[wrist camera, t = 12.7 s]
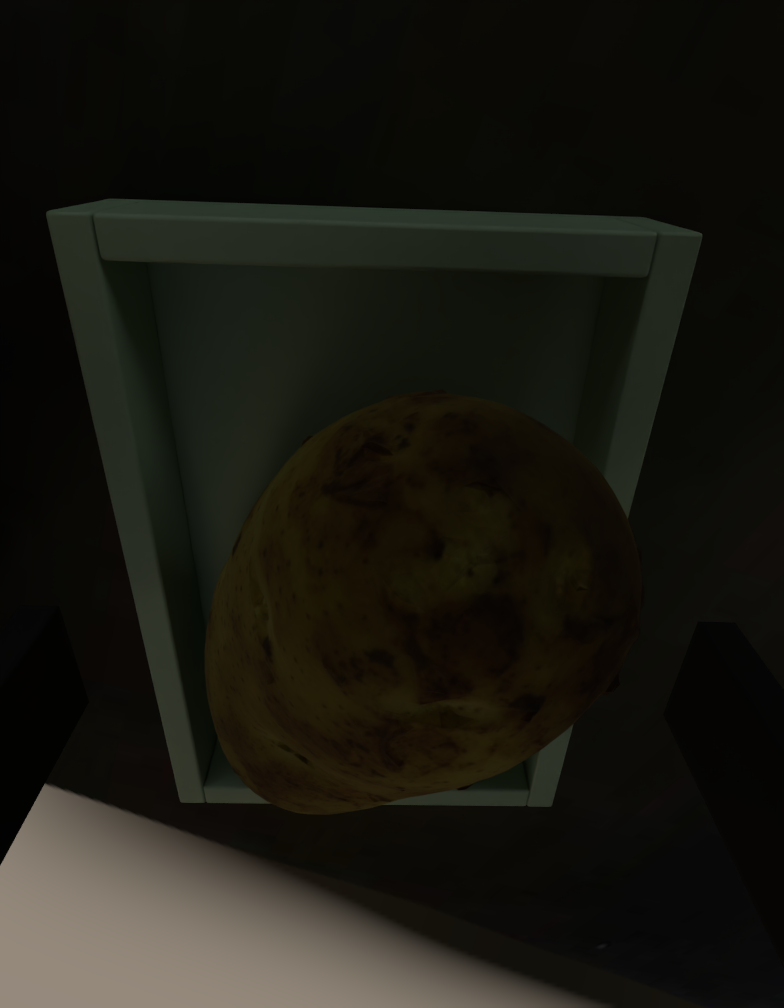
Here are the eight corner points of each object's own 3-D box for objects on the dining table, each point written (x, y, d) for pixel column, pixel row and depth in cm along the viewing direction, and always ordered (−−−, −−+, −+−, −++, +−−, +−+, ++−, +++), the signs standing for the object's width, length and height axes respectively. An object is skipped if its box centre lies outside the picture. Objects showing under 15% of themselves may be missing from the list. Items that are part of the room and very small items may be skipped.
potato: (108, 592, 18) (-68, 875, 11) (433, 258, 13) (484, 380, 6) (322, 728, 21) (290, 1017, 14) (645, 494, 16) (836, 750, 9)
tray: (645, 217, 13) (705, 233, 11) (532, 731, 22) (552, 807, 19) (108, 198, 13) (42, 210, 11) (203, 726, 21) (179, 803, 19)
